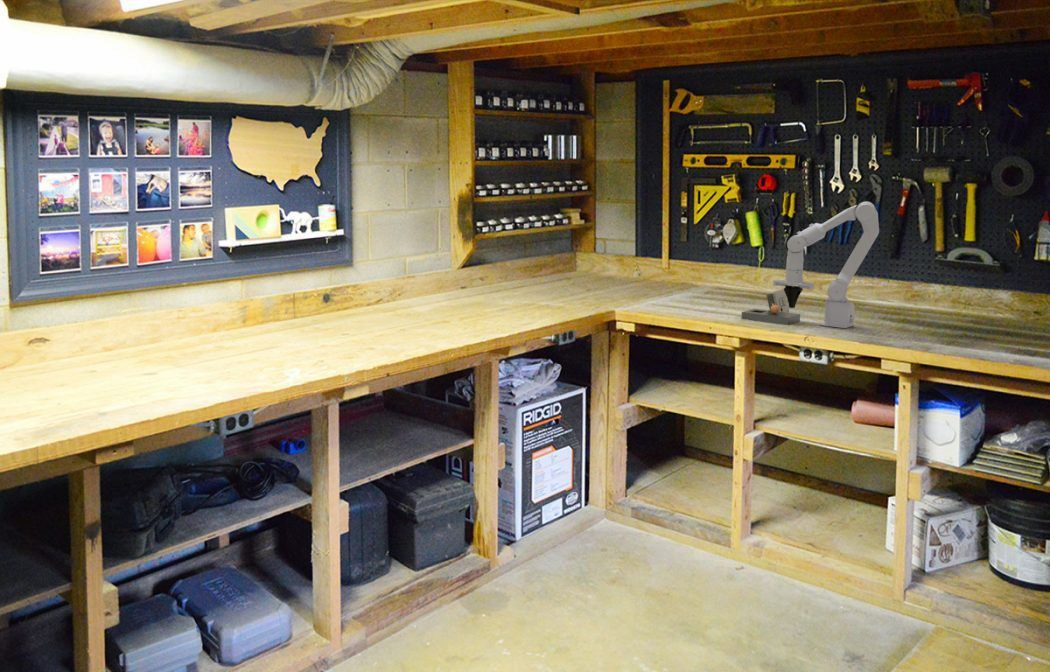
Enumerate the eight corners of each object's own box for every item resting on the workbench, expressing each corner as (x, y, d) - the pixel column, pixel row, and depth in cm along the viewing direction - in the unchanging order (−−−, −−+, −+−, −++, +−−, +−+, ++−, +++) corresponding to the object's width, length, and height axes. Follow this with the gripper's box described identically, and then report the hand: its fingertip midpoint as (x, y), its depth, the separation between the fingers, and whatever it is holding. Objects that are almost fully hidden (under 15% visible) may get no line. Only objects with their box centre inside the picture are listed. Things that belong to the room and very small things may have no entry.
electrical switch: (779, 316, 353) (778, 291, 351) (766, 316, 356) (765, 291, 355) (789, 313, 360) (789, 288, 359) (776, 313, 363) (776, 288, 362)
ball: (780, 313, 343) (781, 304, 343) (776, 314, 341) (777, 305, 340) (772, 312, 345) (773, 303, 345) (768, 313, 343) (769, 304, 342)
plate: (799, 321, 343) (800, 314, 342) (787, 324, 335) (788, 317, 335) (754, 315, 354) (754, 308, 354) (741, 318, 347) (741, 312, 346)
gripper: (818, 270, 334) (816, 308, 337) (780, 266, 344) (778, 303, 346) (810, 272, 329) (807, 310, 332) (771, 268, 338) (769, 306, 341)
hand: (791, 307), depth 339 cm, fingers closed
